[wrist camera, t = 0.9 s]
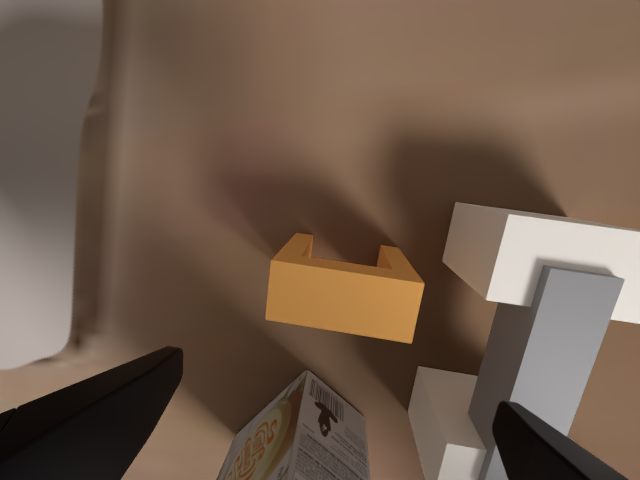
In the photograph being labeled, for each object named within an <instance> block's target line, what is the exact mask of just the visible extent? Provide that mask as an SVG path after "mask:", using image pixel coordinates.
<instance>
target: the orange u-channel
mask: <svg viewBox="0 0 640 480" xmlns="http://www.w3.org/2000/svg"><path fill="white" fill-rule="evenodd" d="M313 236H314V235H309V234H302V233H296V234H295V235H294V236H293V237H292V238H291V239H290V240H289V241H288V242H287V243H286V244H285V246H284V247H283V248H282V249H281V250H280V251H279V252H278V253H277V254H276V255H275V256H274V258H273V259H272V260H271V266H270V276H269V286H268V296H267V307H266V317H265V320H271V321H277V322H283V323H289V324H295V325H301V326H307V327H313V328H319V329H325V330H331V331H337V332H343V333H350V334H356V335H362V336H368V337H374V338H380V339H386V340H392V341H398V342H404V343H410V344H412V340H413V335H414V330H415V326H416V321H417V317H418V312H419V307H420V303H421V298H422V294H423V289H424V285H425V283H424V282H423V281H422V279H421V278H420V276H419V275H418V274H417V272H416V271H415V270H414V268H413V267H412V265H411V264H410V263H409V261H408V260H407V259H406V257H405V256H404V255H403V253H402V252H401V250H400V249H399V248H398V247H391V246H384V245H381V246H380V251H379V257H378V262H377V267H374V266H367V265H360V264H354V263H347V262H340V261H334V260H327V259H320V258H314V257H311V251H312V243H313Z"/></svg>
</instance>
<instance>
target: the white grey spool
mask: <svg viewBox="0 0 640 480" xmlns="http://www.w3.org/2000/svg"><path fill="white" fill-rule="evenodd" d="M442 262H443V263H444V264H445V265H447V266H448V267H449V268H450V269H451V270H452V271H453V272H455V273H456V274H457V275H458V276H459V277H460V278H461V279H462V280H464V281H465V282H466V283H467V284H468V285H469V286H470V287H472V288H473V289H474V290H475V291H476V292H477V293H478V294H479V295H481V296H482V297H483V298H484V299H485V300H488V301H495V302H498V306H497V309H496V313H495V317H494V320H493V324H492V327H491V331H490V335H489V338H488V342H487V345H486V349H485V352H484V356H483V360H482V363H481V367H480V370H479V374H478V376H475V375H469V374H463V373H457V372H451V371H445V370H439V369H433V368H427V367H422V366H418V368H417V373H416V377H415V382H414V386H413V390H412V395H411V399H410V404H409V408H408V416H409V420H410V424H411V428H412V432H413V435H414V439H415V443H416V447H417V451H418V455H419V459H420V463H421V466H422V470H423V474H424V478H425V480H508V478H507V475H506V472H505V469H504V466H503V463H502V460H501V457H500V454H499V451H498V449H497V446H496V443H495V440H494V437H493V433H492V423H493V420H494V417H495V413H496V410H497V407H498V404H499V402H500V401H502V400H505V401H511V402H516V403H519V404H520V405H522V406H523V407H525V408H526V409H527V410H529V411H530V412H532V413H533V414H535V415H536V416H538V417H539V418H540V419H542V420H543V421H545V422H546V423H548V424H549V425H551V426H552V427H553V428H555V429H556V430H558V431H559V432H561V433H562V434H563V435H565V436H566V437H567V435H568V432H569V429H570V426H571V424H572V421H573V418H574V416H575V413H576V410H577V408H578V405H579V402H580V399H581V397H582V394H583V391H584V389H585V386H586V383H587V381H588V378H589V375H590V372H591V370H592V367H593V364H594V362H595V359H596V356H597V354H598V351H599V348H600V345H601V343H602V340H603V337H604V335H605V332H606V329H607V327H608V324H609V321H610V319H612V320H619V321H625V322H632V323H638V324H640V230H636V229H631V228H625V227H619V226H614V225H608V224H603V223H597V222H592V221H586V220H580V219H575V218H569V217H562V216H555V215H548V214H540V213H533V212H525V211H518V210H511V209H503V208H496V207H488V206H481V205H474V204H466V203H459V202H455V206H454V210H453V215H452V219H451V223H450V228H449V232H448V237H447V241H446V245H445V250H444V254H443V259H442Z"/></svg>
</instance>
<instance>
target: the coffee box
mask: <svg viewBox="0 0 640 480" xmlns="http://www.w3.org/2000/svg"><path fill="white" fill-rule="evenodd" d="M216 480H370V471H369V459H368V447H367V434H366V423H365V418H364V417H363V416H362V415H361V414H360V413H359V412H358V411H356V410H355V409H354V408H353V407H352V406H351V405H349V404H348V403H347V402H346V401H345V400H343V399H342V398H341V397H340V396H339V395H338V394H336V393H335V392H334V391H333V390H332V389H330V388H329V387H328V386H327V385H326V384H324V383H323V382H322V381H321V380H320V379H319V378H317V377H316V376H315V375H314V374H313V373H311V372H310V371H309V370H305V371H304V372H303V373H302V374H301V375H300V376H299V377H297V378H296V379H295V380H294V381H293V382H292V383H291V384H290V385H289V386H288V387H287V388H286V389H284V390H283V391H282V392H281V393H280V394H279V395H278V396H277V397H276V398H275V399H274V400H273V401H272V402H270V403H269V404H268V405H267V406H266V407H265V408H264V409H263V410H262V411H261V412H260V413H259V414H258V415H257V416H256V417H254V418H253V419H252V420H251V421H250V422H249V423H248V424H247V425H246V426H245V427H244V428H243V429H242V430H241V431H239V432H238V433H237V434H236V435H235V437H234V439H233V442H232V444H231V447H230V449H229V452H228V454H227V456H226V459H225V461H224V463H223V465H222V468H221V470H220V472H219V475H218V477H217V479H216Z"/></svg>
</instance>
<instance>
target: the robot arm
mask: <svg viewBox="0 0 640 480" xmlns="http://www.w3.org/2000/svg"><path fill="white" fill-rule="evenodd" d="M182 374H183V350H182V349H181V348H177V347H171V346H167V347H165V348H162V349H160V350H157V351H155V352H152V353H150V354H147V355H145V356H142V357H140V358H137V359H135V360H132V361H130V362H127V363H125V364H122V365H120V366H117V367H115V368H112V369H110V370H108V371H105V372H103V373H100V374H98V375H95V376H93V377H90V378H88V379H85V380H83V381H80V382H78V383H75V384H73V385H70V386H68V387H65V388H63V389H60V390H58V391H55V392H53V393H50V394H48V395H45V396H43V397H40V398H38V399H36V400H33V401H31V402H28V403H26V404H23V405H21V406H19V407H18V408H17V409H16V408H13V409H10V410H8V411H6V412H3V413H1V414H0V480H121V478H122V477H123V475H124V474H125V472H126V471H127V469H128V468H129V466H130V465H131V463H132V462H133V460H134V459H135V457H136V456H137V455H138V453H139V452H140V450H141V449H142V447H143V446H144V444H145V443H146V441H147V440H148V438H149V437H150V435H151V433H152V432H153V430H154V428H155V427H156V425H157V423H158V421H159V419H160V418H161V416H162V414H163V412H164V410H165V409H166V407H167V405H168V403H169V401H170V399H171V398H172V396H173V394H174V392H175V390H176V389H177V387H178V385H179V383H180V381H181V379H182ZM492 433H493V437H494V440H495V443H496V446H497V449H498V451H499V454H500V457H501V460H502V463H503V466H504V469H505V472H506V475H507V478H508V480H628V479H627V478H626V477H624V476H623V475H621V474H620V473H618V472H617V471H615V470H614V469H613V468H611V467H610V466H608V465H607V464H605V463H604V462H602V461H601V460H600V459H598V458H597V457H595V456H594V455H592V454H591V453H589V452H588V451H587V450H585V449H584V448H582V447H581V446H579V445H578V444H576V443H575V442H574V441H572V440H571V439H569V438H568V437H566V436H565V435H563V434H562V433H561V432H559V431H558V430H556V429H555V428H553V427H552V426H551V425H549V424H548V423H546V422H545V421H543V420H542V419H540V418H539V417H538V416H536V415H535V414H533V413H532V412H530V411H529V410H527V409H526V408H525V407H523V406H522V405H520V404H519V403H516V402H511V401H505V400H502V401H500V402H499V404H498V407H497V410H496V413H495V417H494V420H493V423H492Z"/></svg>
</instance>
